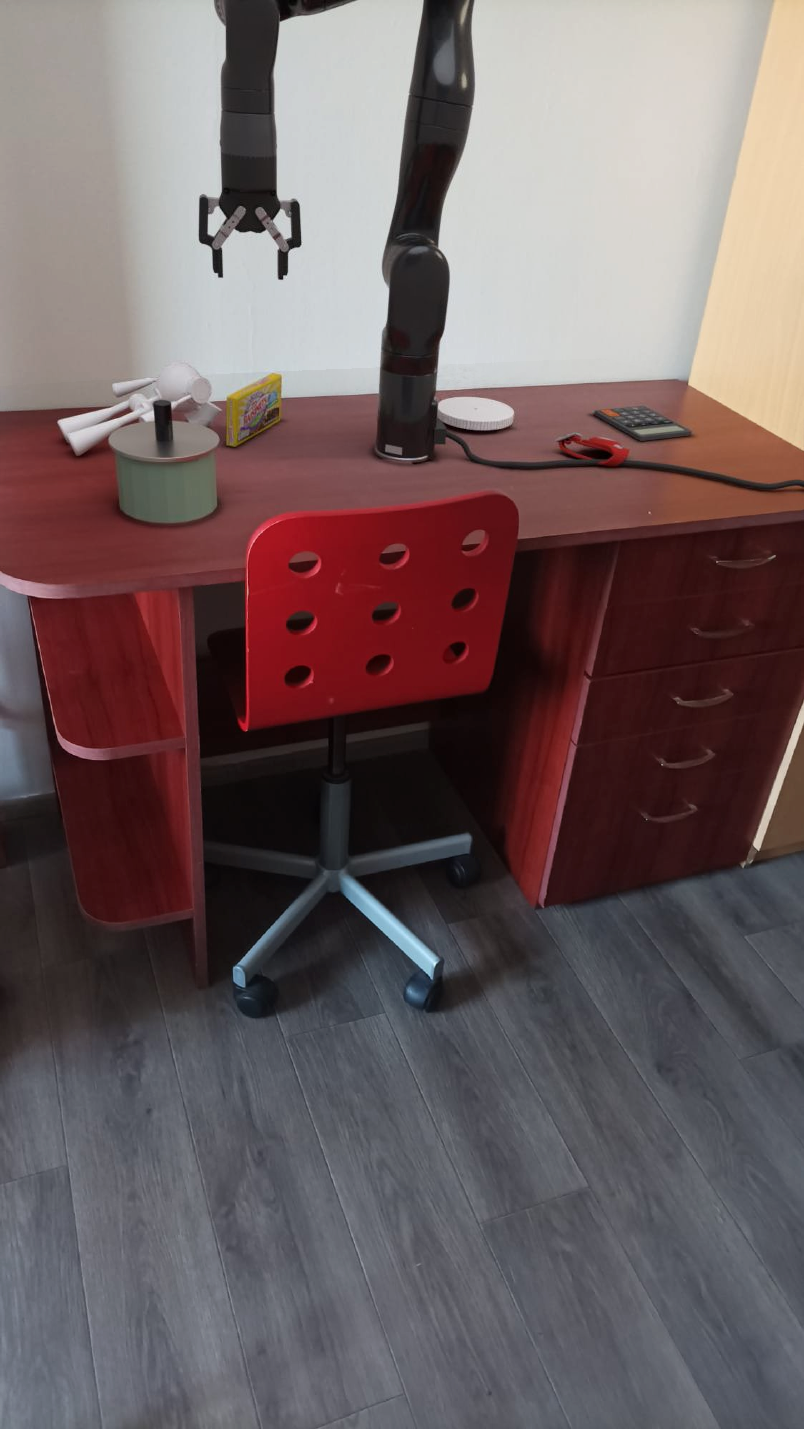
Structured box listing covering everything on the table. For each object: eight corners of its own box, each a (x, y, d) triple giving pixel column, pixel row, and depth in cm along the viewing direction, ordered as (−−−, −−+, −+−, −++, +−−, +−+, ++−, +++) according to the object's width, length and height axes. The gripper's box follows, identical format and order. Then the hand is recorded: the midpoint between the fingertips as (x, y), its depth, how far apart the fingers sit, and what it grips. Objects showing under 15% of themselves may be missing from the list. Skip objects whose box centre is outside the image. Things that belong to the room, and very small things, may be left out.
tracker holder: (612, 439, 183) (644, 445, 174) (606, 465, 184) (637, 472, 175) (554, 426, 178) (583, 432, 169) (547, 453, 179) (577, 459, 170)
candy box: (236, 448, 170) (235, 398, 166) (225, 446, 171) (223, 396, 166) (282, 421, 183) (282, 373, 178) (271, 418, 184) (271, 371, 179)
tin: (215, 488, 156) (213, 426, 151) (218, 526, 145) (216, 460, 140) (122, 488, 154) (116, 425, 148) (118, 527, 143) (111, 461, 137)
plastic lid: (525, 422, 191) (527, 408, 190) (489, 441, 181) (491, 427, 180) (459, 405, 197) (461, 391, 196) (421, 423, 187) (422, 409, 186)
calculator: (643, 404, 201) (692, 430, 190) (643, 409, 202) (691, 435, 191) (594, 409, 197) (641, 435, 186) (593, 414, 197) (640, 441, 186)
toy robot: (103, 505, 163) (245, 440, 169) (69, 435, 155) (219, 369, 160) (75, 464, 177) (207, 405, 182) (42, 397, 168) (181, 337, 174)
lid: (218, 428, 152) (216, 386, 148) (221, 466, 140) (219, 421, 136) (112, 428, 149) (108, 385, 146) (106, 467, 137) (101, 420, 134)
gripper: (195, 150, 136) (200, 282, 145) (304, 156, 138) (302, 285, 147) (194, 144, 142) (199, 270, 151) (299, 149, 144) (298, 273, 153)
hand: (250, 277), depth 149 cm, fingers open, 8 cm apart
